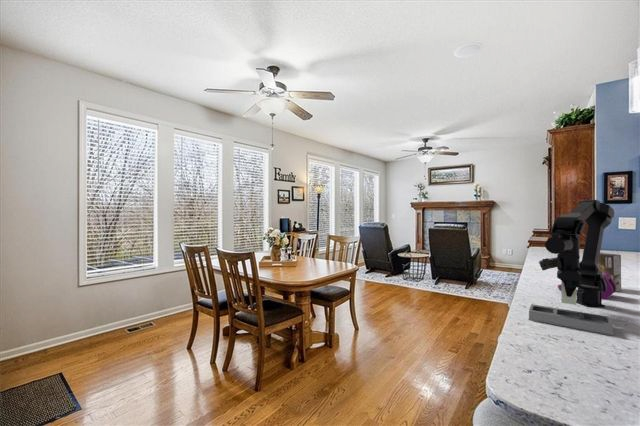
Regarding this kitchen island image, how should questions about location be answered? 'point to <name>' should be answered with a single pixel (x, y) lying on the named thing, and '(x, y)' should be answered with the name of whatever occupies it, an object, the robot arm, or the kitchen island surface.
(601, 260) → the coffee box
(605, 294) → the mounting bracket
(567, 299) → the peg
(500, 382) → the kitchen island surface
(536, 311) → the slotted holder
